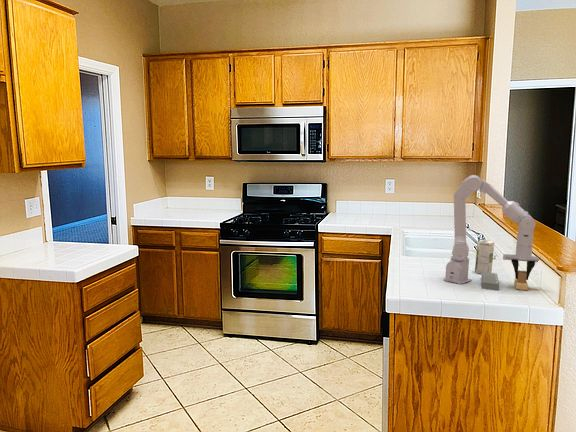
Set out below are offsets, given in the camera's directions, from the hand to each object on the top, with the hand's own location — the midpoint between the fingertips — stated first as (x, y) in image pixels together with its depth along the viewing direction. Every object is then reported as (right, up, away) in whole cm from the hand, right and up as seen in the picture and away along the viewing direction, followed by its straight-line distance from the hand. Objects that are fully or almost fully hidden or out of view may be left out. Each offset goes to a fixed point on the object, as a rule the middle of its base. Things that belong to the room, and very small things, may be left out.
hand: (521, 278), depth 187 cm
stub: (0, -3, 0) cm, 3 cm away
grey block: (-11, -3, +5) cm, 12 cm away
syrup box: (-6, -1, +23) cm, 23 cm away
